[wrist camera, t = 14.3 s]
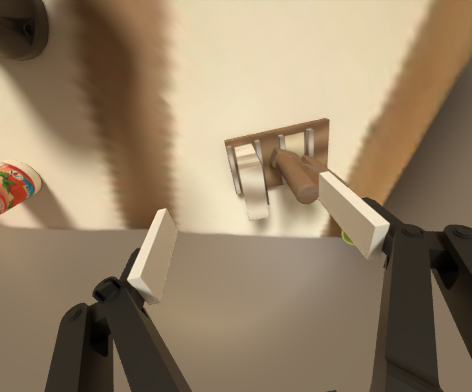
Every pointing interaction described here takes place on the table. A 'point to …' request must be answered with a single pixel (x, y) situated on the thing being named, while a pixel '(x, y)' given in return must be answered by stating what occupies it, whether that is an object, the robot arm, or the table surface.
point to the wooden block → (300, 173)
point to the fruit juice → (16, 183)
